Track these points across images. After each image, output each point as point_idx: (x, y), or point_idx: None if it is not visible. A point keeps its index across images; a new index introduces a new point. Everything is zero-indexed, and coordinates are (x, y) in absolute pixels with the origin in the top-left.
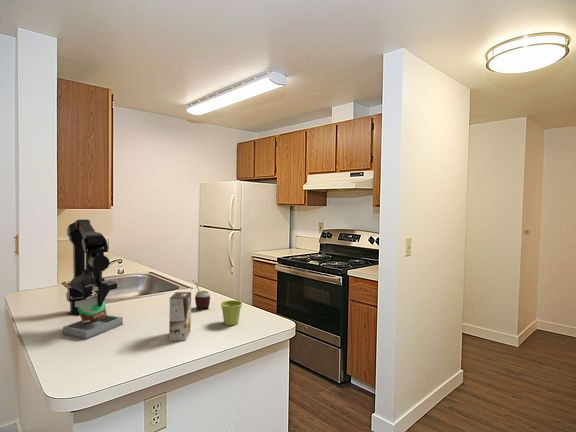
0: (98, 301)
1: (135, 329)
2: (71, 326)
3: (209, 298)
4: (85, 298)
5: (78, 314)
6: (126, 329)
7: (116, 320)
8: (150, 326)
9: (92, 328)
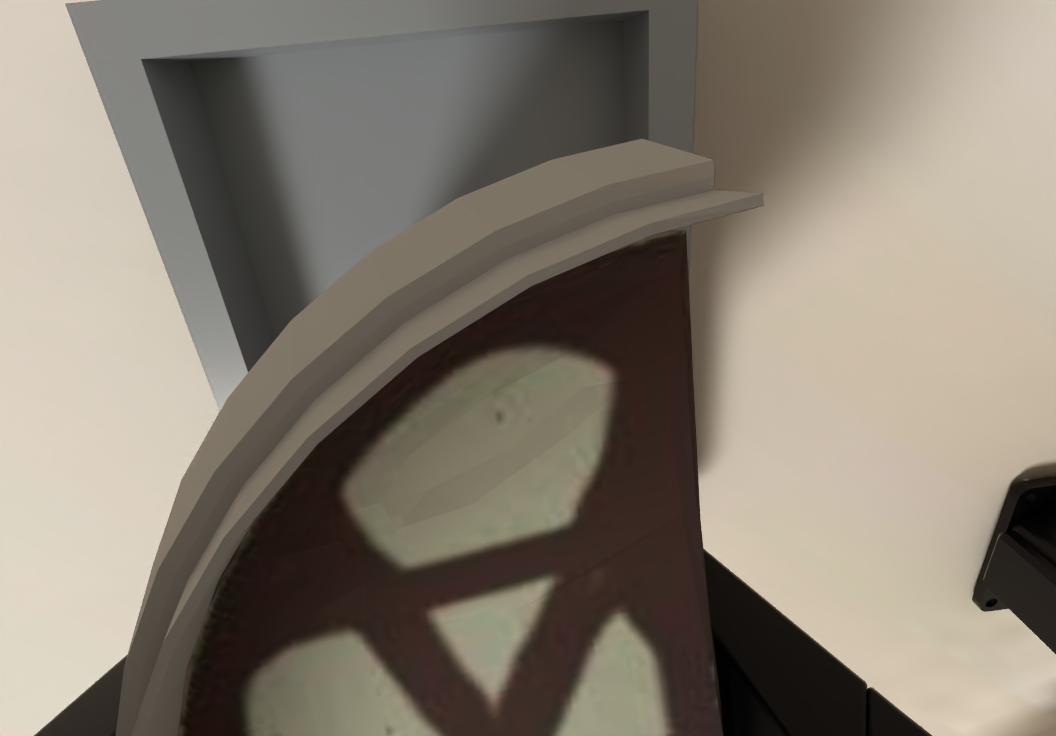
0: (112, 706)
1: (58, 553)
2: (642, 105)
3: None
4: (699, 640)
5: (1013, 499)
6: (137, 509)
7: None
8: (32, 662)
9: (172, 181)
